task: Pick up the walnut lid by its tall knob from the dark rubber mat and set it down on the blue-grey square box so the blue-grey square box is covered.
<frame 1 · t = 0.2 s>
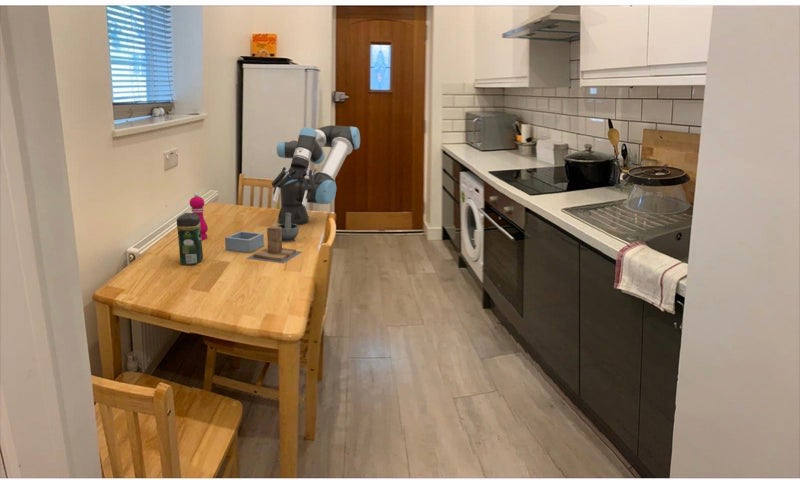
hand: (289, 203, 235), 16 cm above the table, tool tilted 35°, fingers open, 13 cm apart
lid: (275, 255, 215), point 1 cm above the table, touching mat
blue-grey square box: (245, 249, 223), on the table
mortar and pestle: (288, 241, 237), on the table
coffee jar: (191, 262, 206), on the table
mat: (275, 256, 215), on the table
pepper mill: (199, 238, 237), on the table
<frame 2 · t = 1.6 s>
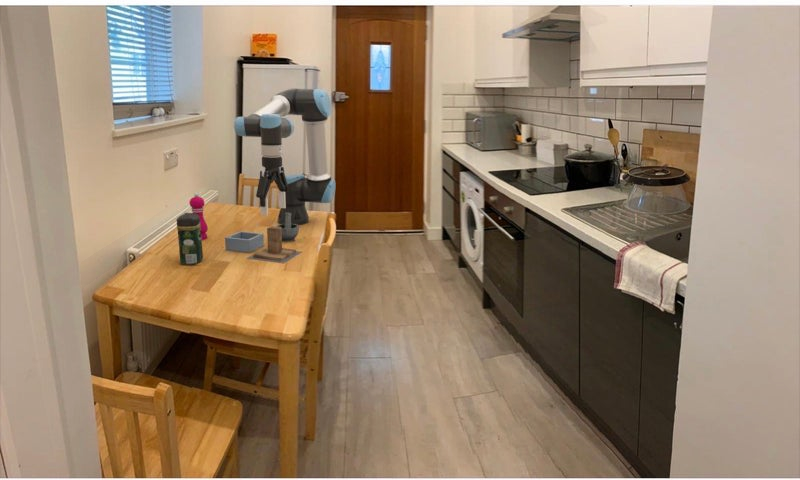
hand: (273, 211, 210), 19 cm above the table, tool pointing down, fingers open, 13 cm apart
nothing on the table moved.
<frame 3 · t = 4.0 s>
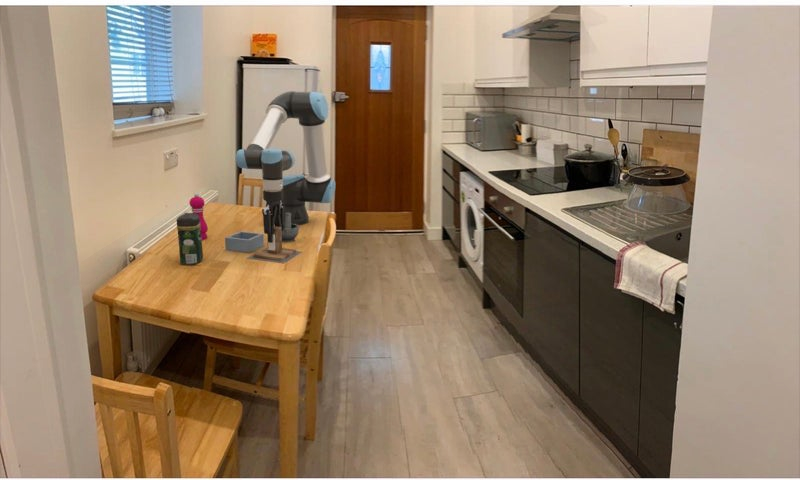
hand: (274, 248, 214), 4 cm above the table, tool pointing down, fingers closed on lid, 4 cm apart
lid: (275, 255, 215), point 1 cm above the table, touching gripper, mat
everything else where it was.
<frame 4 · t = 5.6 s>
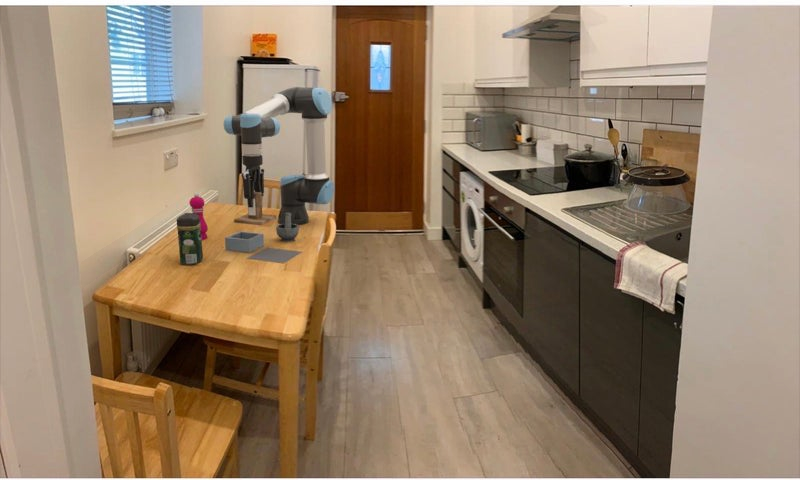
hand: (255, 213, 216), 16 cm above the table, tool pointing down, fingers closed on lid, 4 cm apart
lid: (255, 220, 217), point 13 cm above the table, touching gripper
everything else where it was.
when the fingers open (10 cm above the table, at t = 7.5 s): lid drops 1 cm, resting on blue-grey square box.
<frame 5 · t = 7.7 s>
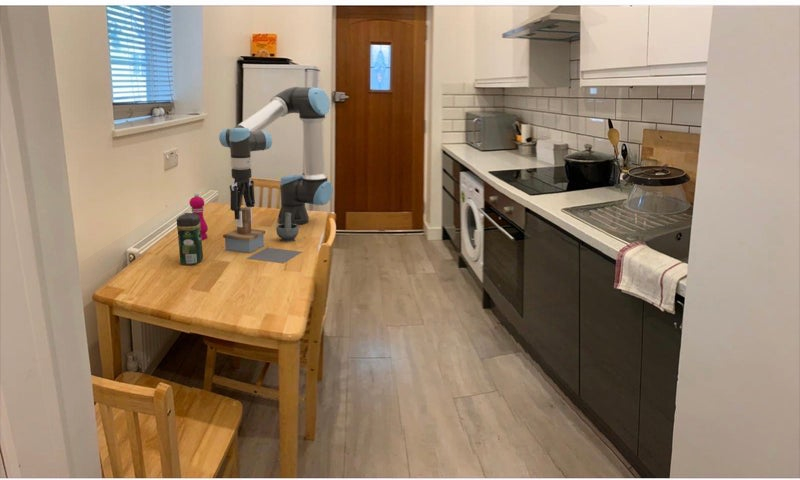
hand: (244, 224, 220), 11 cm above the table, tool pointing down, fingers open, 7 cm apart
lid: (244, 235, 221), point 6 cm above the table, touching blue-grey square box
everything else where it was.
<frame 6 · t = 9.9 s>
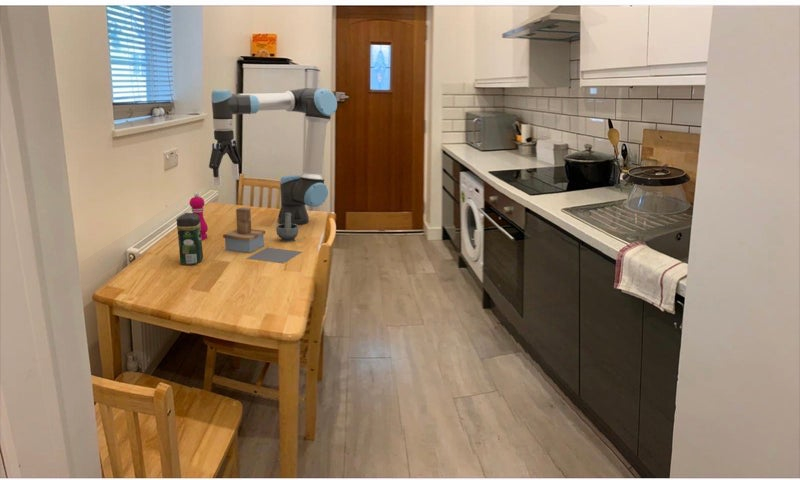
hand: (227, 182, 224), 26 cm above the table, tool pointing down, fingers open, 13 cm apart
nothing on the table moved.
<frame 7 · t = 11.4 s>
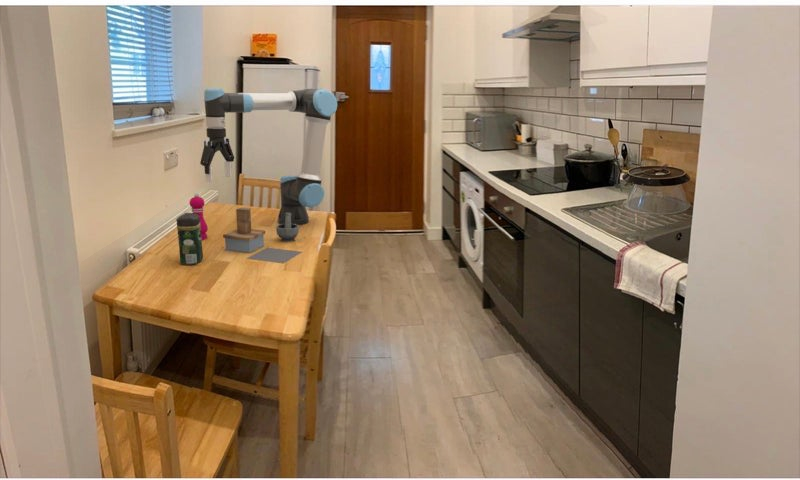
hand: (219, 179, 227), 27 cm above the table, tool pointing down, fingers open, 13 cm apart
nothing on the table moved.
at the end: lid 0.0 cm off-centre on the blue-grey square box, point 6.0 cm above the blue-grey square box's base; lid tilted 0°; the gripper is holding nothing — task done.
